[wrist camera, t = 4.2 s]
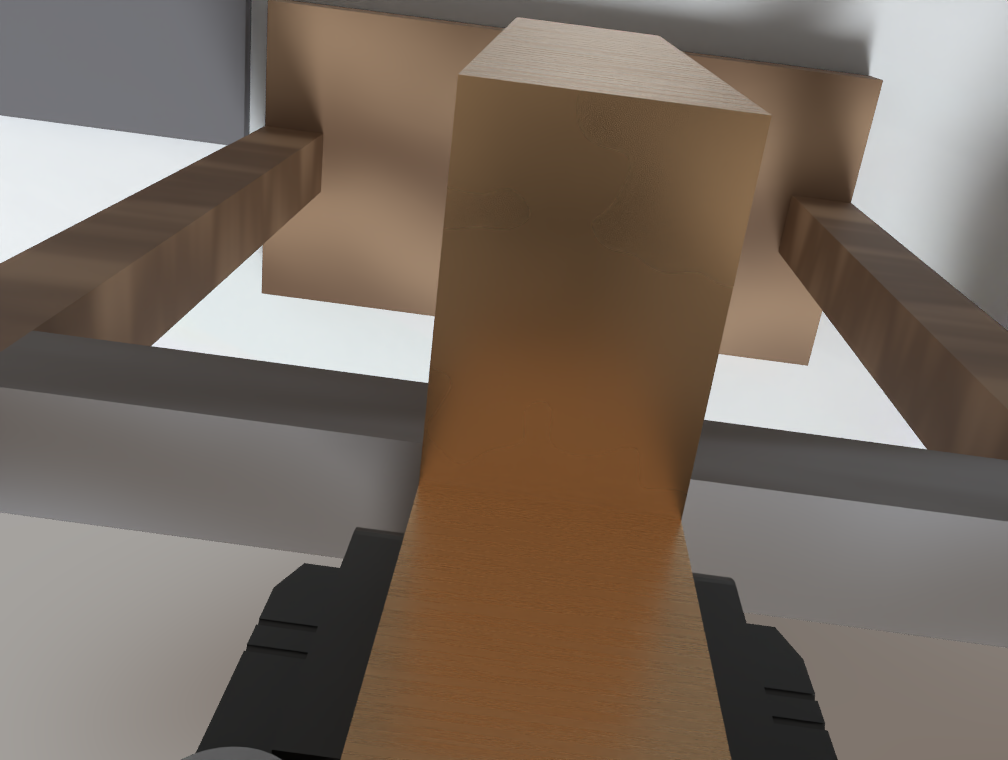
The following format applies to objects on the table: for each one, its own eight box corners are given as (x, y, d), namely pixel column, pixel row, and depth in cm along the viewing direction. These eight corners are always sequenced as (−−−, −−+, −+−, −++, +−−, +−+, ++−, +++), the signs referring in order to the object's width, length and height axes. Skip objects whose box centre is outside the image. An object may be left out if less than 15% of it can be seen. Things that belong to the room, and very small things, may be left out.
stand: (280, -2, 33) (-315, 59, 11) (869, 75, 32) (1512, 299, 10) (273, 281, 37) (-171, 753, 15) (798, 350, 36) (1156, 935, 14)
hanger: (516, 17, 20) (349, 179, 5) (659, 35, 20) (981, 261, 5) (459, 509, 25) (280, 1415, 9) (574, 525, 25) (589, 1458, 9)
